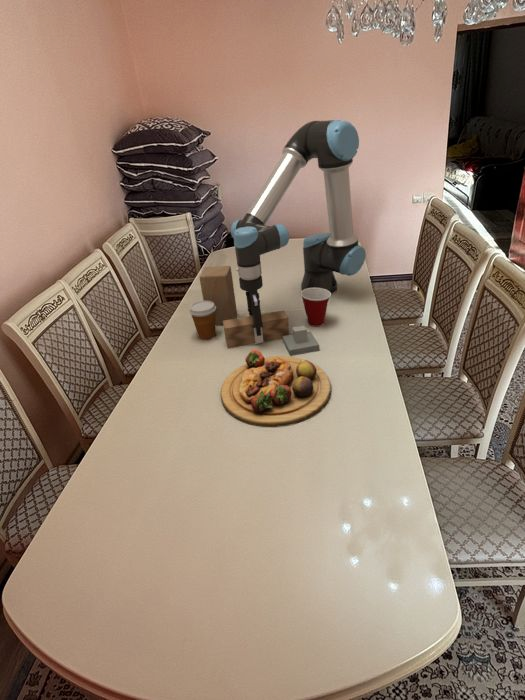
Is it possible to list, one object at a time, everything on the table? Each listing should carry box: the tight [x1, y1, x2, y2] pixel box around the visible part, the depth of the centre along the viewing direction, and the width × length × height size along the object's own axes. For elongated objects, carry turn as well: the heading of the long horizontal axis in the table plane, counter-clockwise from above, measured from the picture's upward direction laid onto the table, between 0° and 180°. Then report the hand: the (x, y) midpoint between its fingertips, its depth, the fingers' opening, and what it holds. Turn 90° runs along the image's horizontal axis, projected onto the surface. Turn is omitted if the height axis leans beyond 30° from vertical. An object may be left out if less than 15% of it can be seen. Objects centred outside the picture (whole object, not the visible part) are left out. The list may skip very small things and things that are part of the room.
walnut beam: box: [222, 309, 291, 349], centre depth 157 cm, size 22×6×8 cm, turn 101°
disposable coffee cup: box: [189, 300, 217, 340], centre depth 162 cm, size 10×10×12 cm
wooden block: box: [198, 265, 238, 326], centre depth 170 cm, size 10×10×20 cm
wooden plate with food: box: [220, 349, 332, 427], centre depth 129 cm, size 32×32×8 cm
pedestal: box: [282, 325, 320, 357], centre depth 150 cm, size 10×10×6 cm
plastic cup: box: [300, 288, 332, 327], centre depth 162 cm, size 11×11×12 cm
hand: (257, 337), depth 159 cm, fingers open, 7 cm apart
